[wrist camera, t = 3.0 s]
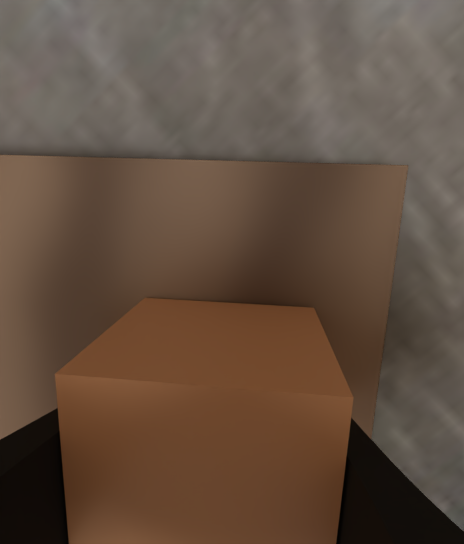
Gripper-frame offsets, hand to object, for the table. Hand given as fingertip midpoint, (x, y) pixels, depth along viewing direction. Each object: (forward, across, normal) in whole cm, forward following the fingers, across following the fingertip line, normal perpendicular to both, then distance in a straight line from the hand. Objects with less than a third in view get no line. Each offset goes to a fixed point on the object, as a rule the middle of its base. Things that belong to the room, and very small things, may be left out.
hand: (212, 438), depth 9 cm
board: (+4, +5, 0) cm, 7 cm away
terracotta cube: (+3, 0, 0) cm, 3 cm away
